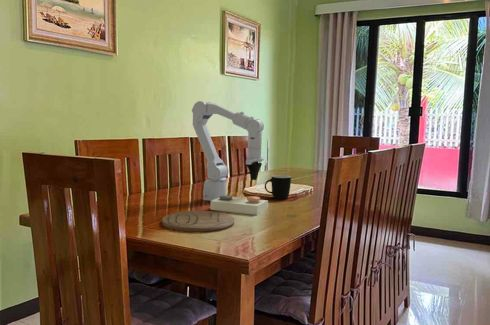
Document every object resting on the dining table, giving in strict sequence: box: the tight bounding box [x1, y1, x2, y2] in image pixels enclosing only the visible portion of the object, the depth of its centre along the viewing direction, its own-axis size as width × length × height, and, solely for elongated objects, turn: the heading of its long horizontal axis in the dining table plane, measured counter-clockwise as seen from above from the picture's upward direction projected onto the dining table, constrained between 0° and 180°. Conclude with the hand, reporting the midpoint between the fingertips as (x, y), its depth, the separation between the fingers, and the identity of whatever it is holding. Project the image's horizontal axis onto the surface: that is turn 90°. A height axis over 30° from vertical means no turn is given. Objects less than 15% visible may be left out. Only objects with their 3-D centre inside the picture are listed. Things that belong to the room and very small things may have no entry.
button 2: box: [246, 195, 261, 204], centre depth 176 cm, size 5×5×4 cm
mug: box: [264, 174, 292, 200], centre depth 204 cm, size 12×9×10 cm
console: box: [210, 196, 269, 216], centre depth 178 cm, size 20×12×4 cm, turn 68°
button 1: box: [220, 194, 233, 201], centre depth 180 cm, size 5×5×4 cm
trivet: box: [161, 210, 235, 234], centre depth 155 cm, size 25×25×2 cm
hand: (253, 179), depth 189 cm, fingers closed
